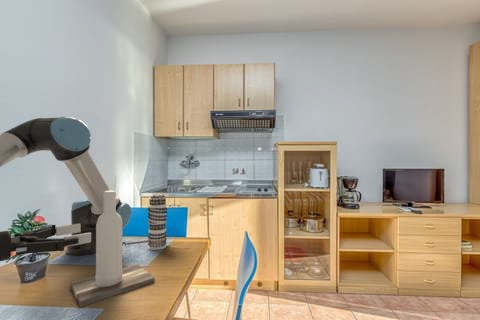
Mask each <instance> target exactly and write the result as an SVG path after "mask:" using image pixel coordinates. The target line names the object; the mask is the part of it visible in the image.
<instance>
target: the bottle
mask: <svg viewBox="0 0 480 320" xmlns="http://www.w3.org/2000/svg"><path fill="white" fill-rule="evenodd" d="M116 195H117V191H116V190H110V191H104V195H103V197H104V213H103V214H102V215H101V216H100V217H99V218H98V221H97V224H96V252H95V276H96V285H97V286H100V287H109V286H113V285H116V284H118V283H119V282H121V280H122V268H123V246H122V242H123V229H122V218H121V216H120V215H119V214H118V213H117V212H116Z"/></svg>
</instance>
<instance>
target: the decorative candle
mask: <svg viewBox="0 0 480 320" xmlns="http://www.w3.org/2000/svg"><path fill="white" fill-rule="evenodd" d="M166 198H167V197H166V196H165V195H164V194H162V193H156V194H155V193H154V194H151V195H150V197H148V199H149V201H148V202H149V204H148V207H147V209H146V210H147V211H148V212H147V219H148V220H147V223H148V233H147V235H148V236H147V240H148V242H147V245H148V246H147V248H148V249H149V250H152V251H153V250H154V251H157V250H163V249H165V248H166V247H167V244H168V243H167V236H168V235H167V233H168V232H167V228H166V225H167V224H166V223H167V220H168V219H167V218H168V215H167V214H168V211H167V210H168V207H167V203H166V202H167V199H166Z"/></svg>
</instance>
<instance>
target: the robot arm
mask: <svg viewBox="0 0 480 320" xmlns="http://www.w3.org/2000/svg"><path fill="white" fill-rule="evenodd" d="M91 136H92V135H91V132H90V129H89V127H88V126H87V124H86V123H85V122H83V121H82V120H80V119H78V118H75V117H68V116H60V117H40V118H33V119H30V120H27V121H24V122H22V123H20V124H18V125H16V126H14V127H12V128H10V129H9V130H6V131H4V132H2V133H1V134H0V168H2V167H4V166H5V165H7V164H8V163H11V162H12V161H13V160H15V159H16V158H25V157H26V156H28V155H30V154H32V153H35V152H42V151H50V152H51V153H52V156H54V158H55V159H56V160H57V161H58V162H62V163H63V162H64V164H65V166H66V167H67V169H68V170H69V172H70V173H71V174H72V177H73V178H74V179H75V181H76V183H77V184H78V185H79V187H80V189H81V191H82V192H83V193H84V195H85V196H86V198H87V199H82V200H77V201H74V202H73V203H72V204H71V210H70V212H71V215H70V216H71V217H70V218H71V219H70V220H71V224H67V225H60V226H57V225H56V224H51V226H50V225H49V226H45V227H41V228H37V229H32V230H28V231H24V232H18V233H17V232H16V233H14V235H13V237H12V234H11V231H10V230H3V231H0V262H3V261H8V260H10V259H11V258H12V257H11V255H12V254H11V253H13V252H15V256H21V255H26V254H27V255H28V254H38V253H39V254H41V253H49V252H50V253H51V252H64V251H65V248H66V254H68V255H70V256H83V255H90V254H96V224H97V221H98V218H99V217H100V216H101V215H102V214H103V213H104V197H103V195H104V191H111V190H110V188H109V186H108V184H107V183H106V180H105V179H104V177H103V176H102V174H101V172H100V170H99V168H98V167H97V165H96V164H95V163H96V162H95V161H94V160H93V157H92V155H91V154H90V153H89V150H90V149H91V146H90V144H91V140H92V139H91ZM116 212H117V213H118V214H119V215H120V216H121V218H122V230H123V229H124V228H125V227H127V225H128V224H129V222H130V219H131V215H132V209H131V206H130V204H129V203H126V202H122V201H121V199H120V196H118V195H117V194H116ZM65 235H66V236H65ZM67 235H68V236H67ZM54 236H56V237H58V238H56V237H55V238H53V237H54ZM59 236H63V238H62V237H61V238H59ZM51 237H52V238H51Z"/></svg>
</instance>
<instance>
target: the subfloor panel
mask: <svg viewBox="0 0 480 320" xmlns="http://www.w3.org/2000/svg"><path fill="white" fill-rule="evenodd" d="M152 283H155V276H153V275H152V274H151V273H149V272H148V271H147V270H146V269H145V268H144V267H143V266H141V265H140V264H138V263H136V264H132V265H129V266H126V267H122V280H121V282H119V283H118V284H116V285H113V286H109V287H100V286H97V285H96V275H93V276H89V277H85V278H82V279H78V280H75V281H70V286H69V287H70V289H71V291H72V293H73V295H74V296H75V299H76V300H77V303H78V305H79V307H80V308H81V307H84V306H87V305H89V304H93V303H96V302H99V301H102V300H104V299H108V298H111V297H114V296H117V295H119V294H123V293H126V292H129V291H131V290H134V289H138V288H140V287H143V286H147V285H149V284H150V285H151V284H152Z"/></svg>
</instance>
